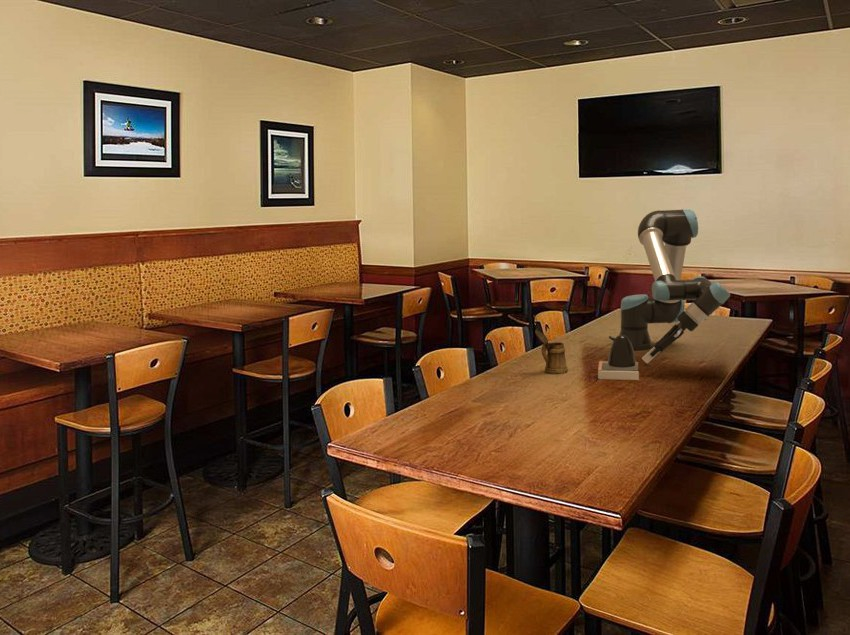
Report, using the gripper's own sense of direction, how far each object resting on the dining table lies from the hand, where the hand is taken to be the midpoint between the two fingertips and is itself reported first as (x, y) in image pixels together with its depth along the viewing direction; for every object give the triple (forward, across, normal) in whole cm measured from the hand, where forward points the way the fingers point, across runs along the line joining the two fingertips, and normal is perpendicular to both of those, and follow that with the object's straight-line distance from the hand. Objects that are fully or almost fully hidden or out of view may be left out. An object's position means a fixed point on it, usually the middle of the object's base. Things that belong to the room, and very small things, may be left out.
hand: (644, 360), depth 272 cm
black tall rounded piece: (+10, +2, +2) cm, 10 cm away
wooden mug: (+29, +1, +21) cm, 36 cm away
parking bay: (+10, 0, +3) cm, 11 cm away
